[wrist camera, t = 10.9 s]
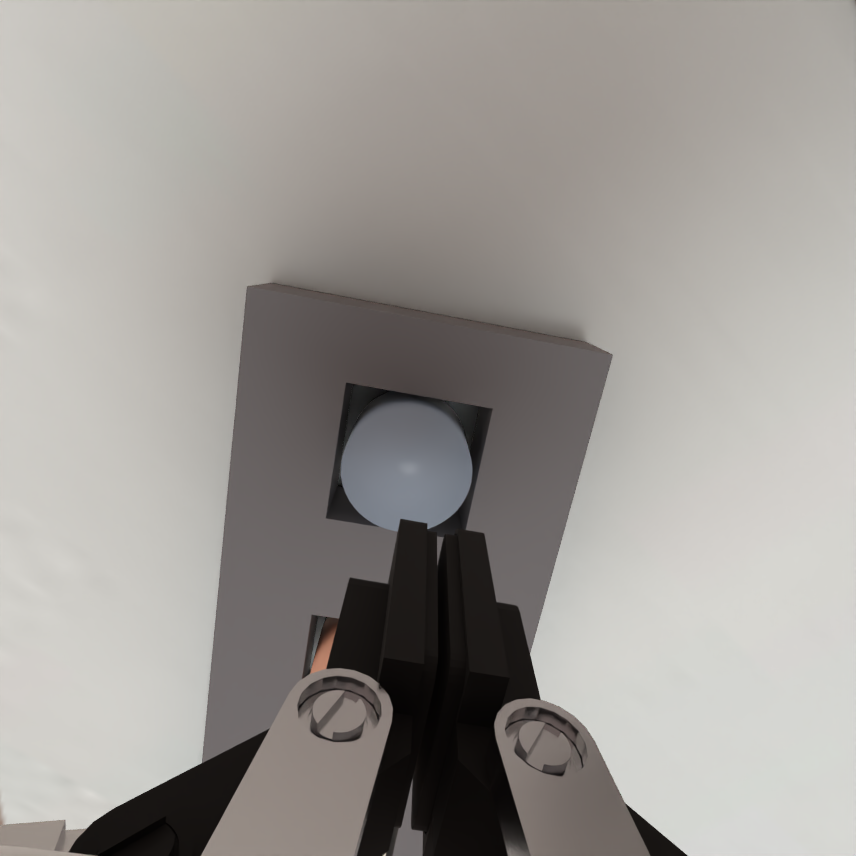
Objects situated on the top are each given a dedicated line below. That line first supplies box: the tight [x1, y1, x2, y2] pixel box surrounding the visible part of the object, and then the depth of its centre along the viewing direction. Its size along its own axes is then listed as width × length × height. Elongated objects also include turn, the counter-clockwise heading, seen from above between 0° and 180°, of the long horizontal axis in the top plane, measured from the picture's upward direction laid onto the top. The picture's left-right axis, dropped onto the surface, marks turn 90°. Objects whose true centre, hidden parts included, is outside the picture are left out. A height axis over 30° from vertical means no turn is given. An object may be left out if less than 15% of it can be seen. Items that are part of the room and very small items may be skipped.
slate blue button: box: [341, 391, 472, 531], centre depth 20 cm, size 4×4×3 cm
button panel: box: [202, 283, 613, 856], centre depth 24 cm, size 12×28×3 cm, turn 170°
